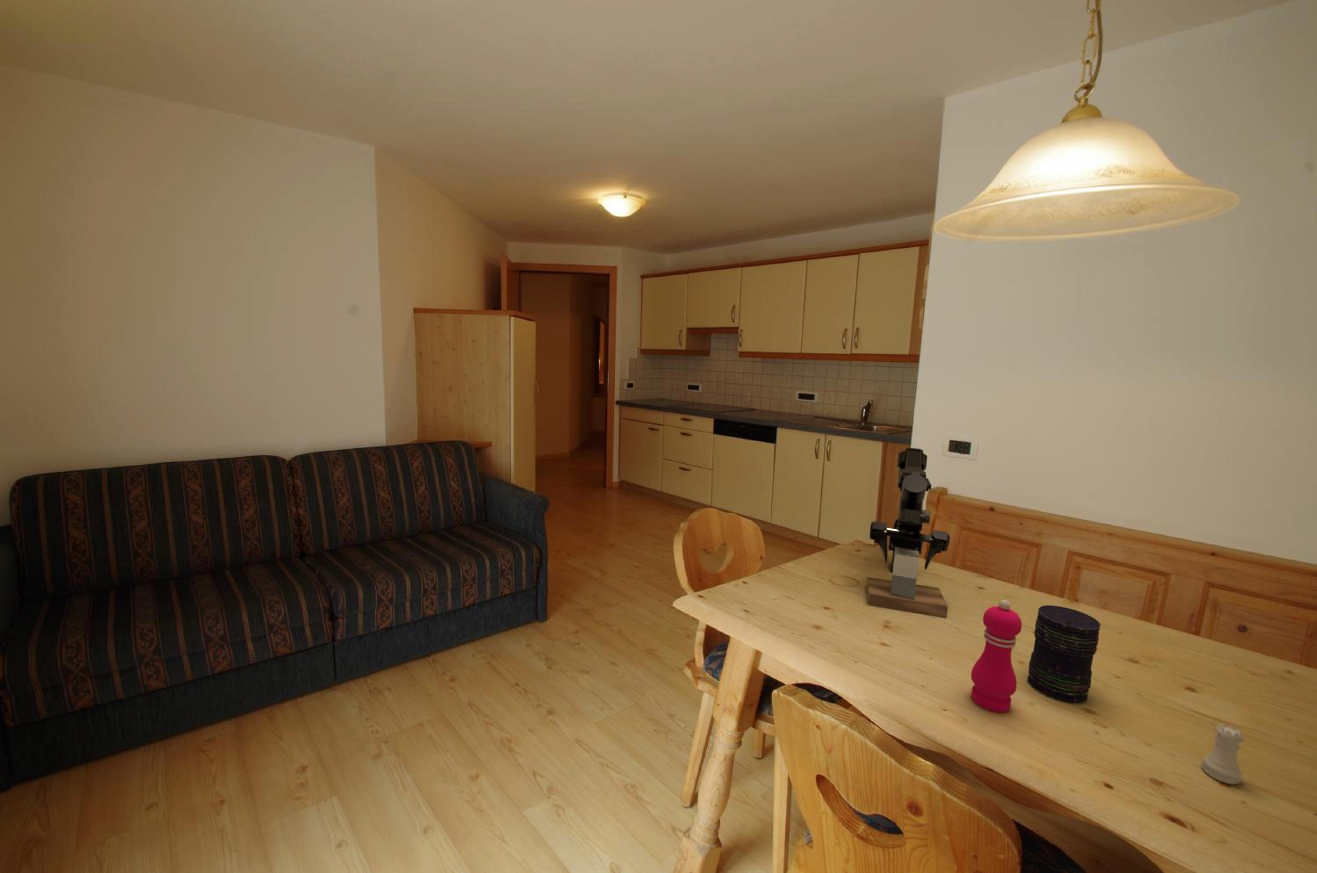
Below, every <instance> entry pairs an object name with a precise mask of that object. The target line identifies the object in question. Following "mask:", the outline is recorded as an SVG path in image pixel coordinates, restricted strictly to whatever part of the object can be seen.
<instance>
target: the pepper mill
mask: <svg viewBox="0 0 1317 873" xmlns="http://www.w3.org/2000/svg"><path fill="white" fill-rule="evenodd" d="M982 622H983V626H984V627H985V629H984V634H983V638H984V639H985V644H984V648H983V649H984V650H983V651H982V653H981V655H980V657H979V658H978V659H977V660H976V662H975V663H974V665H973V667H972V669H971V672H970V678H971V681H972V682H973V686H972V688H971V694H970V695H971V699H972V701H973V702H974V703H975V704H976V705H979V707H982V708H984V709H986V710H988V711H992V712H995V713H1006V712H1008V711H1010V709H1011V703H1012V698H1011V696H1012V695H1014V694H1015V693H1016V692H1017V688H1018V687H1017V685H1018V682H1017V676H1016V673H1015V670H1014V669H1013V668H1014V667H1013V663H1012V650H1013V648H1014V647H1015V646H1016V645H1017V643H1016V641H1017V635H1019V634H1020V633H1021V631H1022V627H1023V625H1022V624H1023V623H1022V619H1021V617H1020V616H1019V614H1018V613H1017V612H1015V610H1012V609H1011V603H1010V602H1009V601H1008V600H1006V599H1001V600H1000V601H998V605H997V606H995V605H994V606H991V607H988V608H987V609H986V610H985V611H984V613H983V615H982Z"/></svg>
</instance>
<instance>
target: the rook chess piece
mask: <svg viewBox="0 0 1317 873" xmlns="http://www.w3.org/2000/svg"><path fill="white" fill-rule="evenodd" d="M1213 730H1214V731H1215V733H1216V736H1214V740H1215V741H1214V742H1215V743H1214V746H1213V748H1212V750H1211V752H1209V753H1208V754H1207V755H1205V756H1204V757H1203V758H1202V762H1201V763H1200V765H1201V768H1202V770H1203V771H1204V773H1206V774H1207V776H1210V777H1211V778H1212V779H1214V780H1216V781H1219V782H1221V783H1224V784H1228V785H1237V784H1240V783H1241V782H1242V780H1241V776H1242V771H1241V769H1240V766H1239V764H1238V751H1239V750H1241V747H1240V746H1239V744H1240V743H1243V742H1244V741H1245V739H1244V737H1243V732H1242V730H1240V729H1239V728H1236V729H1235V726H1233V725H1231V724H1229V727H1228V726H1227V724H1226V723H1223V722H1222V723H1218V726H1216V727H1214V728H1213Z"/></svg>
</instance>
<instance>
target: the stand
mask: <svg viewBox="0 0 1317 873" xmlns="http://www.w3.org/2000/svg"><path fill="white" fill-rule="evenodd" d="M891 581H892V580H889V579H882V578H875V577H870V576H867V577H866V585H865V591H866V595H867V596H866V597H867V601H868V606H870V607H871V606H872V607H875V608H884V609H889V610H894V611H900V612H907V613H912V614H919V615H925V616H930V617H937V618H944V619H947V618H948V611H949V610H948V609H949V606H948V603H947V602H946V600H945V597H944V596H943V593H942V591H941V589H940V587H937V586H931V585H929V586H928V585H922V584H917V583H916V588H915V597H914V600H912V599H907V598H902V597H897V596H892V595H891Z"/></svg>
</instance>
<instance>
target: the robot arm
mask: <svg viewBox="0 0 1317 873" xmlns="http://www.w3.org/2000/svg"><path fill="white" fill-rule="evenodd" d="M927 463H928V455H927V454H926V453H925V452H924V449H921V448H917V447H916V448H915V447H907V448H906V447H905V449H904V450H902V451H900V452H898V455H897V462H896V468H898V478H897V488H899V492H900V497H899V507H898V515H897V518H896V520H895V521H894V524H893V528H888V524H887V522H883V521H875V520H873V521H871V523H870V528H869V539H870V540H872V541H874V543H876V544H878V546H879V548H880V550H881V553H882V556H883V560H884V563H887V564H888V567H889V571H890V572H891V573H893V564H894V555H895V547H896V548H902V549H908V550H914V551H919V555H921V554H922V548H923V543H929V545H928V550H927V555H926V559H925V563H924V570H925V571H926V570H927V569H928V568H929V566H930V563H931V561H932V560H933V559H934V557H935V556H936V555H937V554H941V553H942V552H947V551H948V548H949V545H950V541H951V540H950V539H951V538H950V536H951V535H950V534H949V533H948V532H947V531H940V530H934V529H933V530H932V531H931V535H930V534H926V533H922V531H923V524H926V525H927V524H928V525H929V524H930V521H931V519H930V518H931V510H927V509H923V506H924V500H925V496H926V492H929V490H932V482H930V480H929V478H928V477H927V472H926V469H927V465H928V464H927ZM888 537H889V538H888ZM888 551H892V555H891V557H892V558H891V563H890V562H889V563H888V556H889V554H888Z"/></svg>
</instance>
